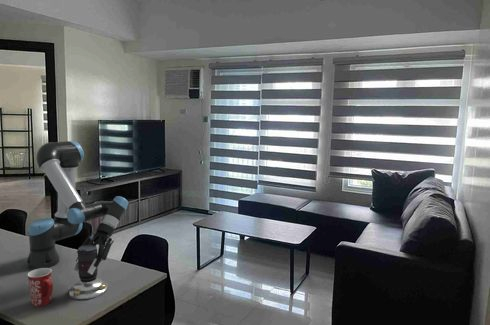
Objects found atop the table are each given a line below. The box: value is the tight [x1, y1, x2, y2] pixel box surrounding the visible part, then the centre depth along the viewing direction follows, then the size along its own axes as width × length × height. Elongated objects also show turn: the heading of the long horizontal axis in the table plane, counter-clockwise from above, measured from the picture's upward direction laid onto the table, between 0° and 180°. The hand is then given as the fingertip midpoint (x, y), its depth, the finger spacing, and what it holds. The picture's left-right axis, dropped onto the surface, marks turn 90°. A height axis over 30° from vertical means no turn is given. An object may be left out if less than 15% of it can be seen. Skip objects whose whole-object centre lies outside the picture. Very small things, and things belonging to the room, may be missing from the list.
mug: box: [27, 267, 54, 307], centre depth 151 cm, size 13×9×14 cm
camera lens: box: [77, 245, 99, 283], centre depth 162 cm, size 8×8×15 cm
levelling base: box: [68, 277, 108, 301], centre depth 163 cm, size 16×16×4 cm
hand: (82, 271), depth 159 cm, fingers closed on camera lens, 8 cm apart
